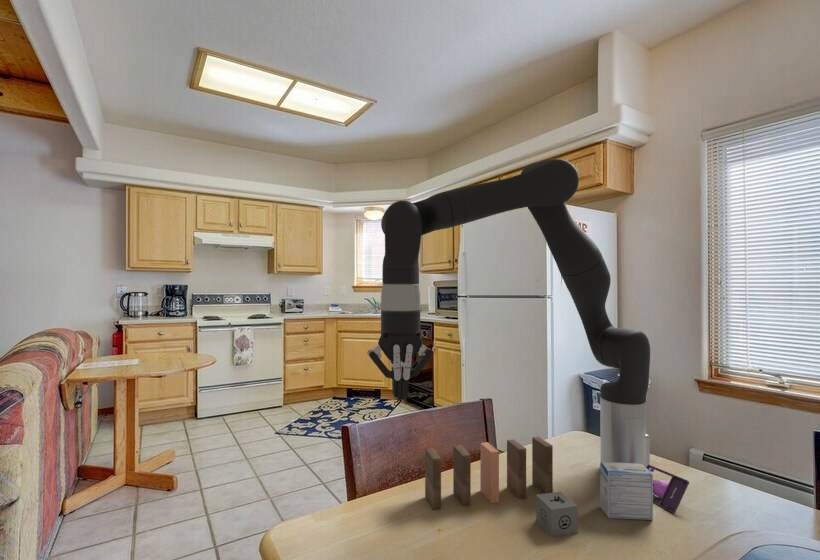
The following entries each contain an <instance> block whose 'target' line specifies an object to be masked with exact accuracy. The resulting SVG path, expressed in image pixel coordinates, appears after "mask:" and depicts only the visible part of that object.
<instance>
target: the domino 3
mask: <svg viewBox="0 0 820 560" xmlns="http://www.w3.org/2000/svg"><path fill="white" fill-rule="evenodd" d="M479 472H480V475H479V476H480V479H479V480H480V482H479V483H480V492H481V493H482V494H483V495H484V496H485V497H486V499H487V500H488V501H489V502H490V503H491V504H492V503H499V502H500V451H499V450H497V448H496V447H494V446H493V445H492V444H491V443H489V442H487V441H486V442H480V470H479Z"/></svg>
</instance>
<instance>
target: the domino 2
mask: <svg viewBox="0 0 820 560" xmlns="http://www.w3.org/2000/svg"><path fill="white" fill-rule="evenodd" d="M452 450H453V451H452V452H453V461H452V462H453V466H452V467H453V477H452V478H453V479H452V480H453V495H454V497H455V498H456V499H457V501H458V502H459V503H460V505H461V506H462V507H469V506H471V493H472V492H471V482H472V481H471V478H472V477H471V469H472V468H471V464H472V463H471V462H472V461H471V454H470V453H469V452H468V451H467V450H466V448H464V447H463V446H462V445H461V444H457V445H453V449H452Z"/></svg>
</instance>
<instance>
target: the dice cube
mask: <svg viewBox="0 0 820 560" xmlns="http://www.w3.org/2000/svg"><path fill="white" fill-rule="evenodd" d="M578 507H579V506H578V505H577V504H576V503H575V502H574V501H573V500H572V499H570V498H569V497H568V496H567V495H565V494H564V493H563V492H562V491H556V492H554V491H553V493H546V494H543V493H540V494H539V493H538V494H536V495H535V521H536V522H537V524H538V525H540V526H541V528H542V529H543V530H544V531H545V532H546V533H547V534H548V535H549V536H550V537H551V538H553V537H561V536H569V535H574V534H577V535H578V532H579V525H578V524H579V518H578V517H579V516H578V515H579V509H578Z"/></svg>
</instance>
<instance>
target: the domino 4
mask: <svg viewBox="0 0 820 560" xmlns="http://www.w3.org/2000/svg"><path fill="white" fill-rule="evenodd" d="M506 488H507V489H508V490H509V492H511V493H512V494H513V495H514V496H515V497H516V498H517V499H518V500H523V499H524V500H525V499H527V447H525V446H523V445H522V444H521V443H520V442H518V441H517V440H515V438H514V439H507V440H506Z"/></svg>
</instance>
